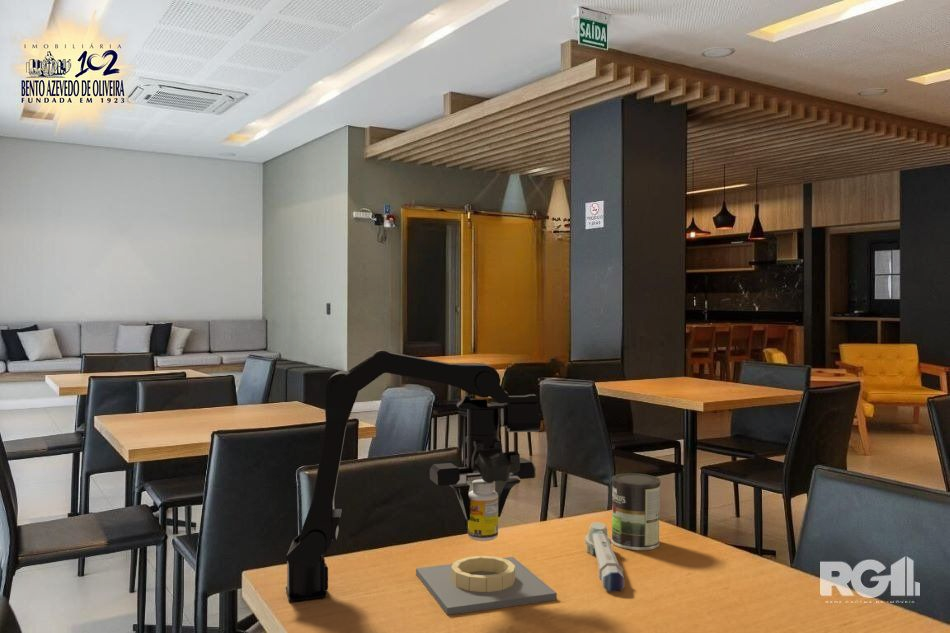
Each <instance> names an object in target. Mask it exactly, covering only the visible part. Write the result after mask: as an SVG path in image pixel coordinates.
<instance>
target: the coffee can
mask: <svg viewBox="0 0 950 633" xmlns="http://www.w3.org/2000/svg"><path fill="white" fill-rule="evenodd" d="M611 482H612V498H611V499H612V500H611V501H612V508H611V509H612V511H611V514H612V515H611V516H612V520H611V521H612V522H611V524H612V525H611V527H612V529H611V544H613V546H614V545H615V546H616V547H618V548H621V549H625V550H629V551H639V552H640V551H650V550H655V549H657V548H660V547H659V546H660V512H661V511H660V510H661V509H660V508H661V506H660V501H661V500H660V497H661V496H660V495H661V494H660V493H661V478H659V477H657V476H655V475H650V474H647V473H646V474H644V473H636V472H635V473H634V472H633V473H629V472H627V473H619V474H615V475H613V476H612V477H611Z"/></svg>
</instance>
